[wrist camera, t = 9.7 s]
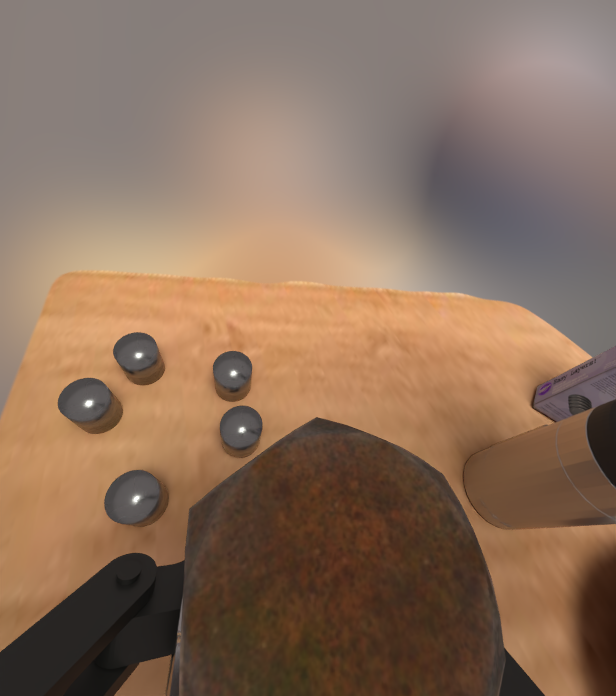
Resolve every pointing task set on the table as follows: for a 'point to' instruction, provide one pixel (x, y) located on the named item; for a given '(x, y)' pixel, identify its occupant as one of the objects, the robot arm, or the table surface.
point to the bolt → (336, 577)
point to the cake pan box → (579, 388)
